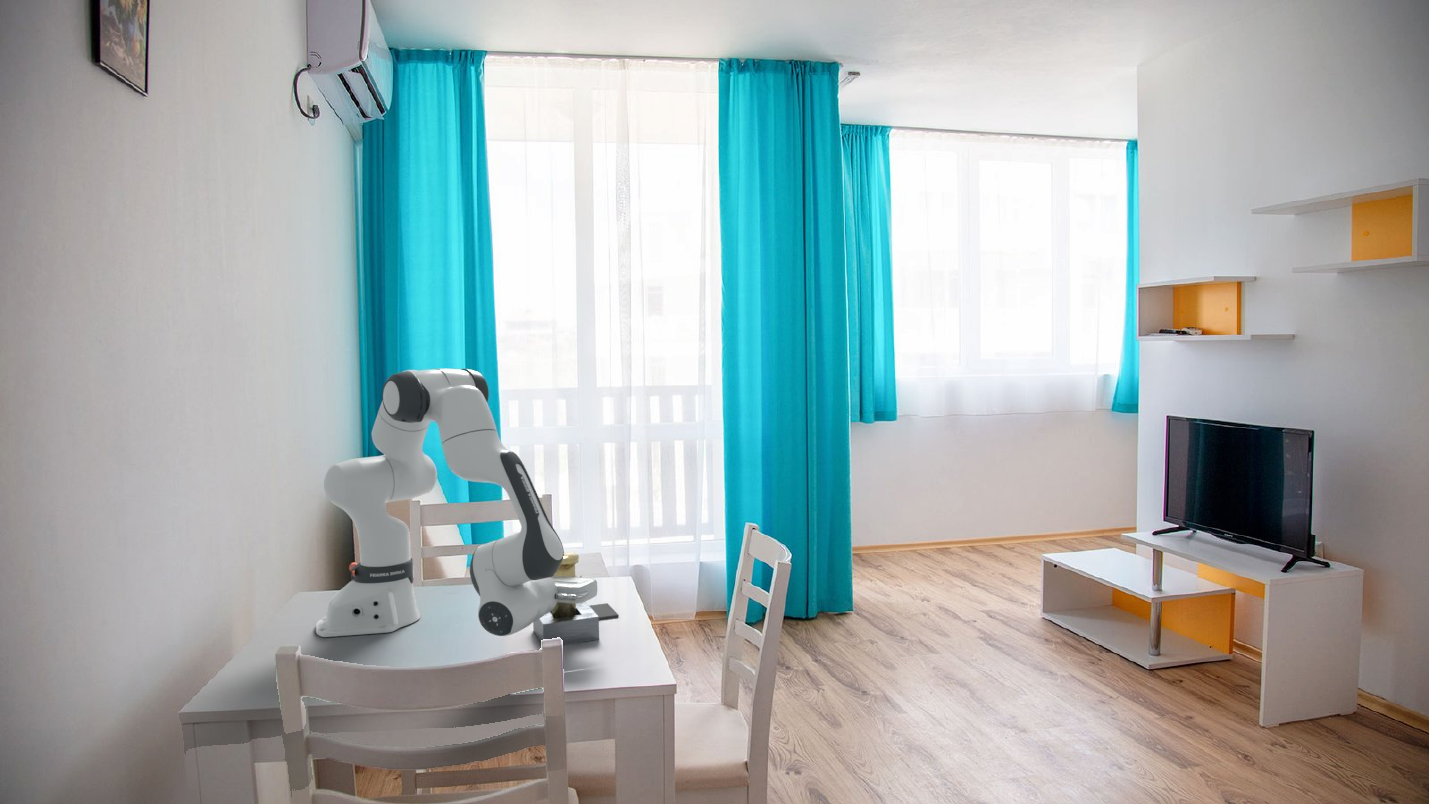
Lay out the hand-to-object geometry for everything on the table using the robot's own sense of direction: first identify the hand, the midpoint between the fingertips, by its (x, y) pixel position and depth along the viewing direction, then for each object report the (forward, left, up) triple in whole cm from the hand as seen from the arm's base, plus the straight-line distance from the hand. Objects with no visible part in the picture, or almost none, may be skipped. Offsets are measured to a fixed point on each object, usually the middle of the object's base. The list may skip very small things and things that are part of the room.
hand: (565, 577), depth 186 cm
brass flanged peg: (-1, -1, -8) cm, 8 cm away
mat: (+9, +11, -13) cm, 19 cm away
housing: (0, -1, -13) cm, 13 cm away
